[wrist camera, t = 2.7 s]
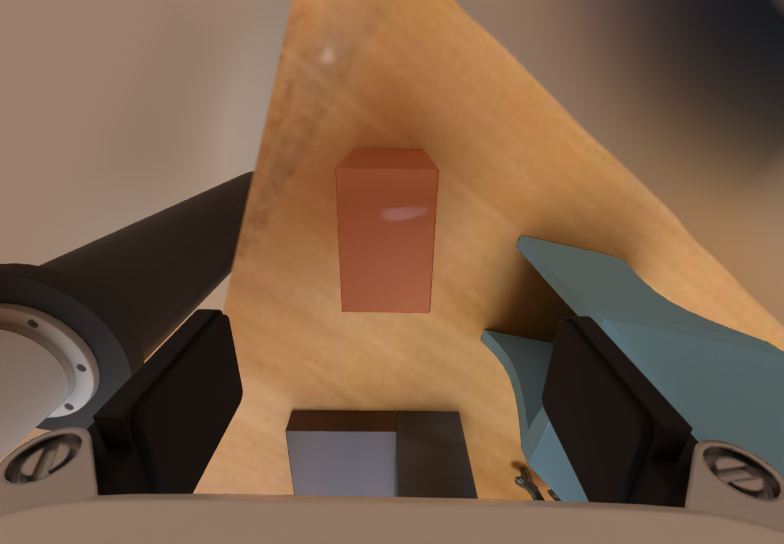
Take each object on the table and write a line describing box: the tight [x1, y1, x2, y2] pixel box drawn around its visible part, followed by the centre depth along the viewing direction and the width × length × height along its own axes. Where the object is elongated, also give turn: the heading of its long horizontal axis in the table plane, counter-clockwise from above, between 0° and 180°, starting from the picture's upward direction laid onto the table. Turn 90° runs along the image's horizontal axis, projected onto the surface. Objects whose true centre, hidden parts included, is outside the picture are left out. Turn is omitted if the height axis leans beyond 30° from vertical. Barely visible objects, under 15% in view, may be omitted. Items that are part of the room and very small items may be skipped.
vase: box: [481, 235, 784, 502], centre depth 20 cm, size 10×10×25 cm
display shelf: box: [286, 410, 478, 499], centre depth 34 cm, size 16×12×9 cm
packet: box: [335, 149, 439, 313], centre depth 24 cm, size 5×8×9 cm, turn 179°
